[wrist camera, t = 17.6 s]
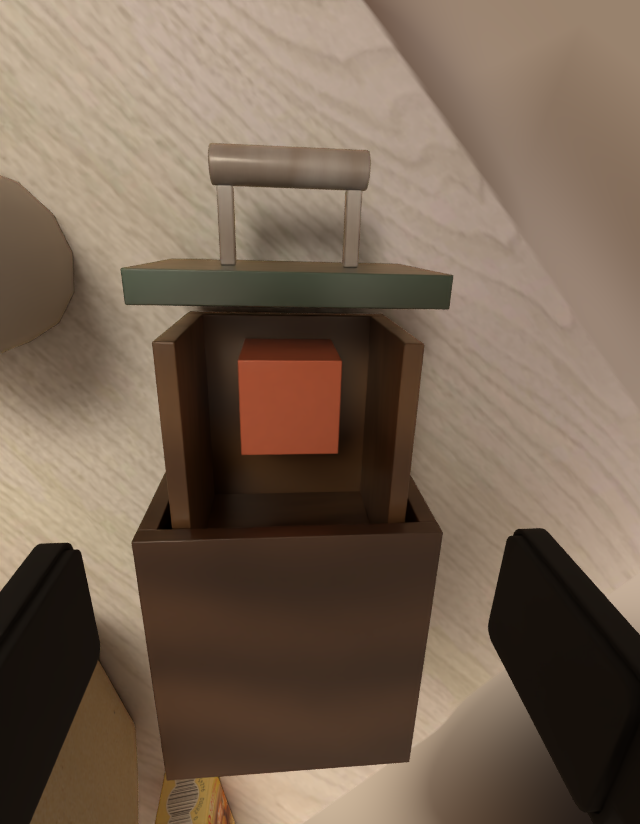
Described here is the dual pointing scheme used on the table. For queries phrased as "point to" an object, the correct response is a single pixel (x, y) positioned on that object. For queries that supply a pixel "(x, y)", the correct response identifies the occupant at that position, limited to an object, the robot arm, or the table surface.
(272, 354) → the block
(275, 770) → the cabinet
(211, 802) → the candy box
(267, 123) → the table surface
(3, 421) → the table surface
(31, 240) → the cup
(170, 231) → the table surface
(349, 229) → the drawer
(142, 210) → the table surface
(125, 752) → the flower pot
